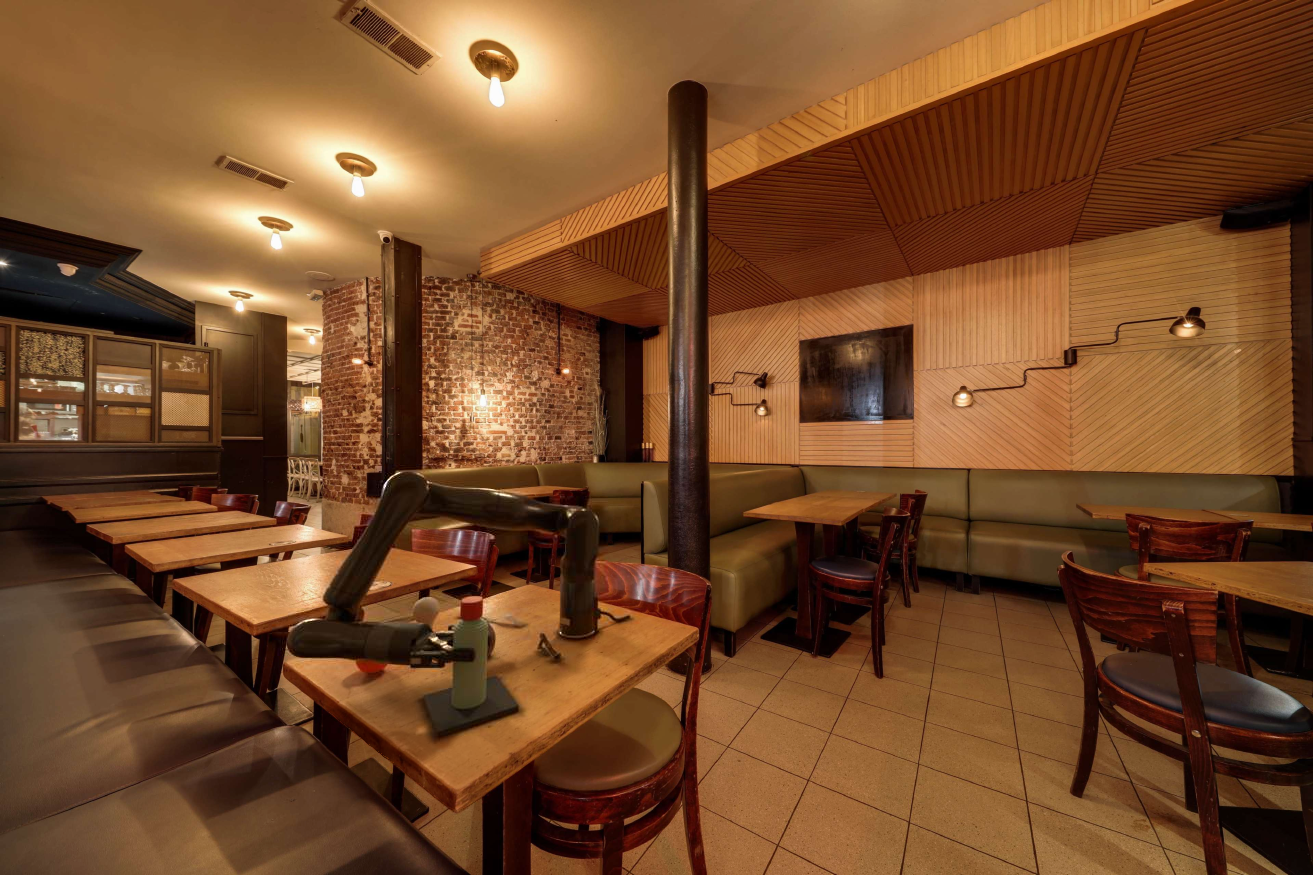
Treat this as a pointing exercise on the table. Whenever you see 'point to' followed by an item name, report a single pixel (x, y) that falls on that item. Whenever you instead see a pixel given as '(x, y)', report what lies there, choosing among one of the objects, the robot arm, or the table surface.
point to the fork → (507, 619)
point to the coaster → (456, 719)
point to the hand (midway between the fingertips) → (482, 647)
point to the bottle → (470, 664)
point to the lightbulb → (426, 611)
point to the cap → (471, 608)
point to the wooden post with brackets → (554, 654)
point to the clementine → (370, 666)
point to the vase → (491, 631)
